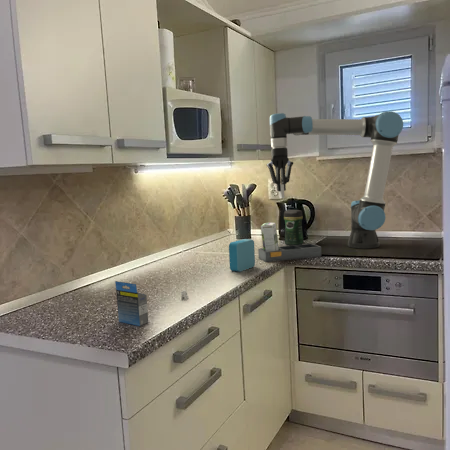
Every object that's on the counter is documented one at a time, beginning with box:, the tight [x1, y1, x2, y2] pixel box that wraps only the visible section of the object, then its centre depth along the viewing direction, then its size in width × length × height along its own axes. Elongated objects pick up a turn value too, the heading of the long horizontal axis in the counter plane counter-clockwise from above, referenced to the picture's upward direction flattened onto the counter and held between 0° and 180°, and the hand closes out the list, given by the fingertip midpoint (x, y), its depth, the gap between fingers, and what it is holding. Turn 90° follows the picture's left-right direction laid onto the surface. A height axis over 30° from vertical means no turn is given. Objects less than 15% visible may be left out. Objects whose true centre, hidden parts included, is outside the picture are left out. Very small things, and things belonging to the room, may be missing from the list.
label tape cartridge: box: [114, 280, 149, 327], centre depth 132 cm, size 9×4×12 cm, turn 56°
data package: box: [228, 238, 256, 273], centre depth 192 cm, size 12×4×12 cm, turn 140°
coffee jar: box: [283, 209, 305, 246], centre depth 243 cm, size 10×8×19 cm
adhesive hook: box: [178, 289, 189, 301], centre depth 154 cm, size 3×3×3 cm
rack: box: [257, 243, 322, 263], centre depth 211 cm, size 27×10×4 cm, turn 105°
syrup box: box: [260, 222, 280, 252], centre depth 208 cm, size 6×6×14 cm
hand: (281, 198), depth 217 cm, fingers closed
